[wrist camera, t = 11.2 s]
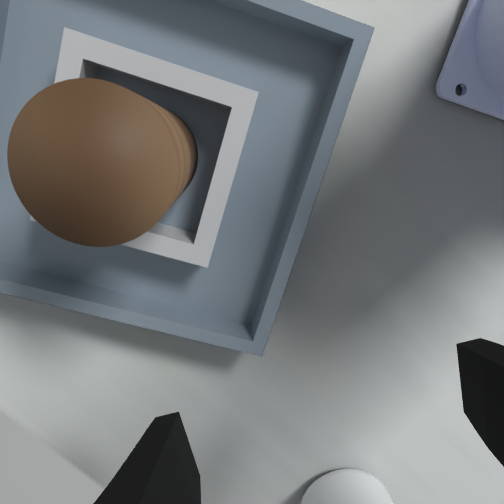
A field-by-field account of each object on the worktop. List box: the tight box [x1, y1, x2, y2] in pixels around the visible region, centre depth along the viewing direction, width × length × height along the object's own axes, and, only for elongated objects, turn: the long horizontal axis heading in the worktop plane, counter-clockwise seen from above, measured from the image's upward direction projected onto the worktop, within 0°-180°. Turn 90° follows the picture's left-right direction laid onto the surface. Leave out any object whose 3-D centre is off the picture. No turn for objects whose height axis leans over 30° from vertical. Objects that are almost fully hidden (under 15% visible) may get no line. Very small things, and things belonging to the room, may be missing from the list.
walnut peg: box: [7, 78, 198, 247], centre depth 14 cm, size 4×4×8 cm
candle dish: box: [0, 0, 374, 356], centre depth 17 cm, size 14×14×3 cm
